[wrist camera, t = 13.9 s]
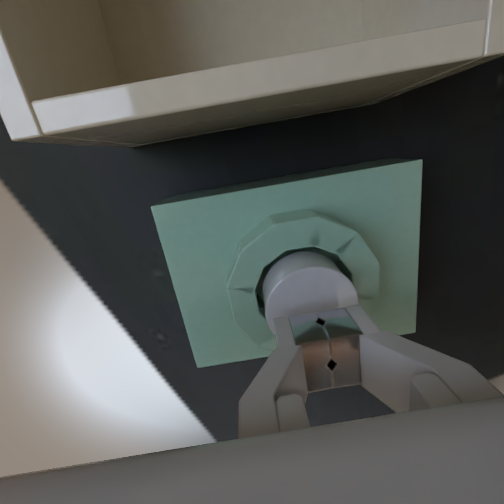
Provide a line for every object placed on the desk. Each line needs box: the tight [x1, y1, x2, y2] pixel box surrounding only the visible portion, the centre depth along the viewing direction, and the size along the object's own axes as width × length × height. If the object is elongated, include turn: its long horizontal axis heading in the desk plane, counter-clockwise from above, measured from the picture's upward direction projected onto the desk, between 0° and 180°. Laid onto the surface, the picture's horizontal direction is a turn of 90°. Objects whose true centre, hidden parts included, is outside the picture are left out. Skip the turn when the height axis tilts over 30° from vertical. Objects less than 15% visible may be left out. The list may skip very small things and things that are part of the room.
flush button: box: [262, 252, 359, 335], centre depth 11 cm, size 4×4×2 cm
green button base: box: [151, 158, 423, 368], centre depth 14 cm, size 12×9×5 cm
